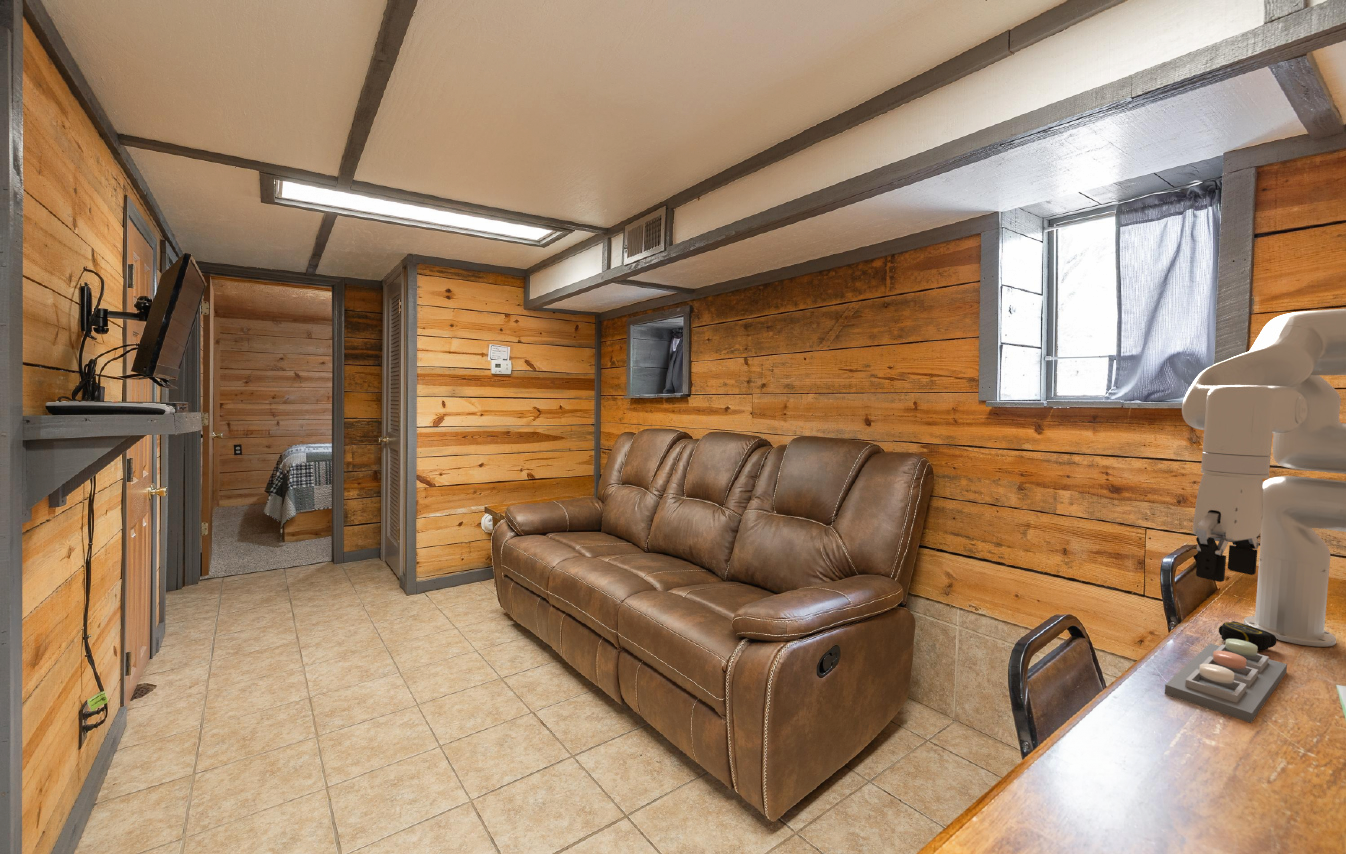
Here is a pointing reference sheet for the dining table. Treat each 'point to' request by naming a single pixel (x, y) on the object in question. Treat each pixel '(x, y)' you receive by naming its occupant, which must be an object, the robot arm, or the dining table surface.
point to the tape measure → (1247, 634)
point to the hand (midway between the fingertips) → (1225, 575)
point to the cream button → (1216, 673)
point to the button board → (1228, 684)
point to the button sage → (1241, 647)
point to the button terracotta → (1229, 659)
